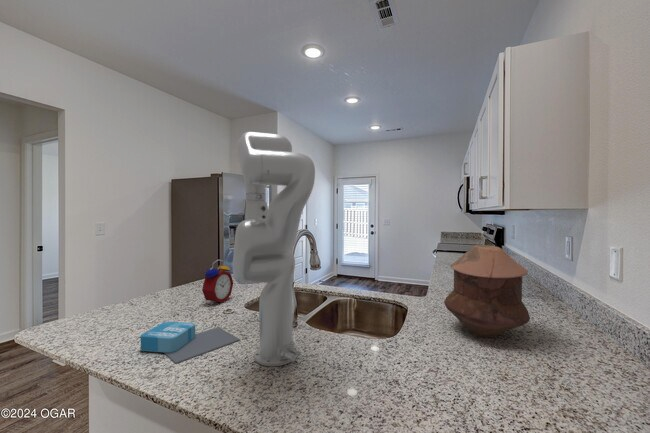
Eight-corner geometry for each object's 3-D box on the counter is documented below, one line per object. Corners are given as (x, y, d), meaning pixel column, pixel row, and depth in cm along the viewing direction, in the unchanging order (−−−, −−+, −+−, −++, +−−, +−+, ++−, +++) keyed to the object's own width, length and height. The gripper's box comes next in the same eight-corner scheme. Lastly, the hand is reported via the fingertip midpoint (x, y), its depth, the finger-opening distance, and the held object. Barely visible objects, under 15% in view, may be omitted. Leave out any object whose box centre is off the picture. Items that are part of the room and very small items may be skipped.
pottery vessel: (468, 313, 119) (468, 240, 118) (542, 335, 98) (543, 246, 97) (429, 328, 104) (429, 245, 103) (507, 358, 83) (508, 253, 82)
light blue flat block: (197, 322, 98) (173, 338, 86) (197, 336, 98) (173, 353, 87) (165, 321, 100) (137, 336, 88) (165, 334, 100) (138, 350, 88)
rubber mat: (240, 340, 96) (240, 339, 96) (175, 364, 81) (175, 362, 81) (218, 327, 106) (218, 326, 106) (157, 347, 92) (157, 345, 92)
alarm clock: (213, 307, 129) (213, 262, 128) (197, 305, 131) (196, 261, 131) (234, 297, 143) (233, 257, 142) (219, 296, 145) (218, 256, 145)
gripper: (275, 198, 110) (276, 246, 110) (253, 199, 120) (254, 243, 121) (258, 197, 105) (259, 248, 105) (237, 198, 115) (237, 245, 115)
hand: (256, 245), depth 113 cm, fingers closed
